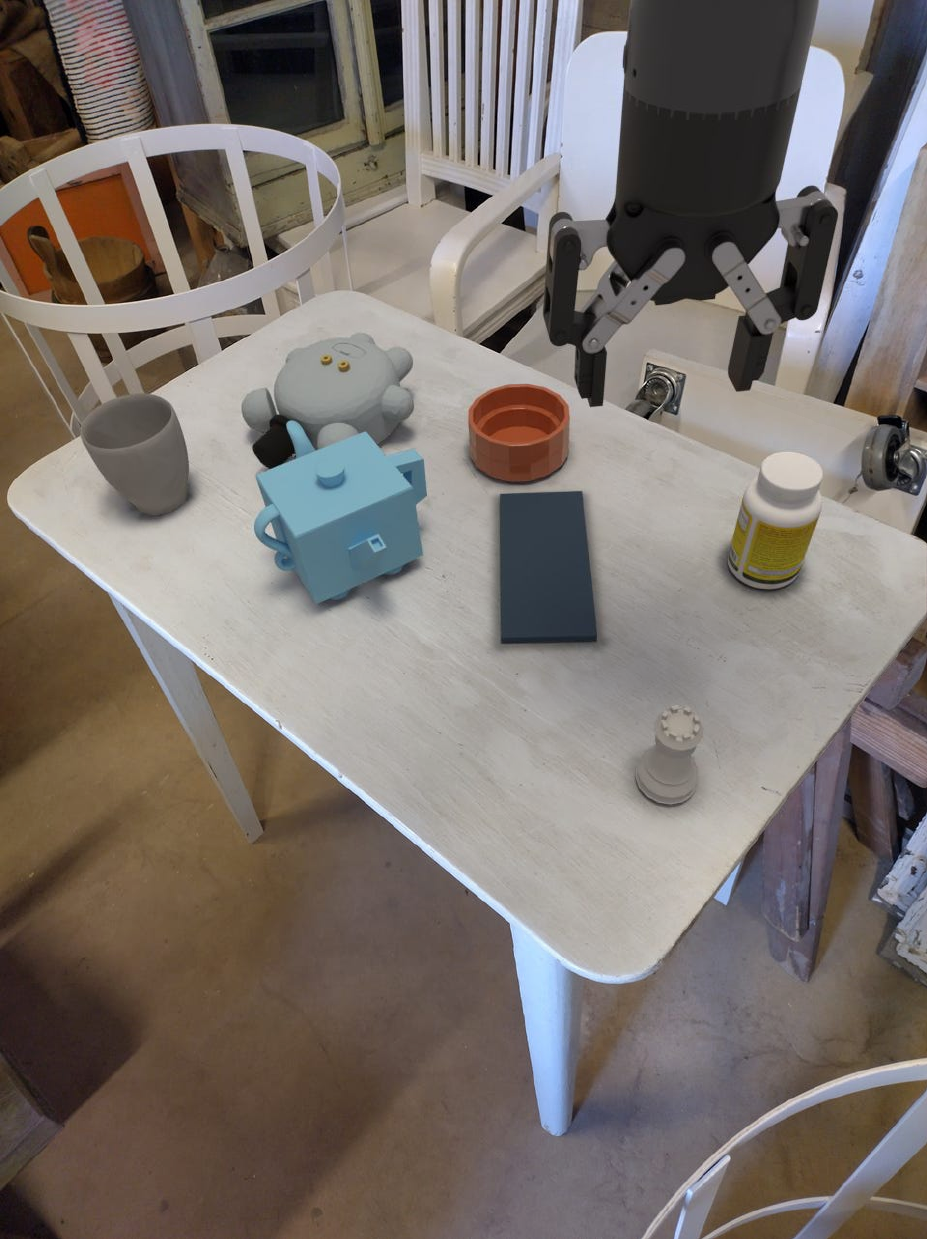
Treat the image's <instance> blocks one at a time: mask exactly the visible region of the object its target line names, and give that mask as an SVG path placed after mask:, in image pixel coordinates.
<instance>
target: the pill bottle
mask: <svg viewBox="0 0 927 1239" xmlns="http://www.w3.org/2000/svg"><path fill="white" fill-rule="evenodd" d="M823 476H824V472H823V469H822V467H821V465H820V464H819V463H818V461H816V460H815V459H814V458H812V457H810V456H808V455H806V454H803V453H800V452H795V451H779V452H775V453H772V454H770V455H768V456H766V457H765V458H764V460H762V463H761V465H760V468H759V472H758V476H756V477H754V478H753V479H752V480H751V481H750V482H748V484H747V486H746V487H745V490H744V491H743V495H742V499H741V502H740V507H739V511H738V515H737V519H736V522H735V527H734V530H733V534H732V538H731V542H730V546H729V550H728V554H727V562H728V563H727V564H728V568H729V570H730V571H731V573H732V574H733V575H734V577H736V579H737V580H739V581H741V583H743V584H745V585H747V586H750V587H752V588H755V589H761V590H775V589H780V588H783V587H786V586H788V585H790V584H791V583H793V581H795V579H796V578H797V577H798V575H799V574H800V571H801V569H802V566H803V563H804V561H805V558H806V554H807V552H808V550H809V547H810V543H811V541H812V538H813V536H814V532H815V530H816V527H817V524H818V521H819V518H820V516H821V513H822V508H823V497H822V493H821V491H820V487H821V484H822V480H823Z"/></svg>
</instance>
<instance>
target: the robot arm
mask: <svg viewBox="0 0 927 1239" xmlns="http://www.w3.org/2000/svg"><path fill="white" fill-rule="evenodd" d="M819 3H820V0H630V4H629V12H628V19H627V20H628V21H627V31H626V32H627V34H626V40H625V43H624V45H623V53H622V70H623V86H622V87H623V88H622V99H621V100H622V101H621V111H620V113H621V114H620V127H619V139H618V154H617V155H618V156H617V166H616V167H617V169H616V181H615V182H616V183H615V195H614V201H613V204H612V206H611V209H610V211H608V214H607V215H606V217H605V218H604V219H594V220H593V219H591V220H574V219H573V217H572V215H571V214H570V213H569V212H566V211H559V212H557V213H555V214H553V215H552V217H551V218H550V220H549V224H548V233H547V234H548V235H547V236H548V237H547V250H546V264H545V275H544V277H545V278H544V290H543V302H542V303H543V305H542V317H543V321H544V325H545V327H546V332H547V335H548V338H549V342H550V343H551V344H552V345H553V346H555V347H564V346H566V345H567V344H568V345H572V346H573V347H575V351H574V371H573V372H574V374H573V377H574V382H575V385H576V388H577V392H578V394H579V396H580V399H581V400H584V399H587V403H588V406H589V408H597V407H603V406H604V399H605V398H604V397H605V385H606V384H605V383H606V373H607V372H606V370H607V358H608V351H607V349H606V345H607V344H608V343H609V341H610V340H611V339H612V338H613V336H614V335H616V333H617V332H618V331H619V329H620V328H621V327H622V326H623V325H629V324H630V323H632V321H634V319H635V318H636V317H637V315H638V314H639V313H640V312H641V311H642V310H643V308H644V307H645V306H646V305H647V304H648V303H649V301H651V302H653V303H654V305H655V306H663V305H665V306H666V305H672V304H675V303H676V302H677V303H678V302H679V301H680V302H681V301H684V300H694V301H699V302H701V301H711V300H715V299H716V295H718V294H720V293H722V292H724V291H725V290H727V289H728V288H730V290H731V291H732V292H733V294H734V296H735V297H736V299H737V300H738V302H739V303H740V305H741V306H742V308H743V309H744V311H745V314H744V315H738V318H737V323H736V326H735V327H736V328H735V333H734V337H733V342H732V347H731V350H730V351H731V352H730V357H729V362H728V366H727V376H728V379H729V381H730V382H731V385H732V386H733V388H734V391H735V392H737V393H738V392H739V393H741V392H748V391H750V390H751V389H752V386H753V382H755V381H759V380H760V378H762V375H763V374H764V372H765V368H766V364H767V360H768V356H769V352H770V348H771V344H772V341H773V336H774V334H775V332H776V331H777V330H778V329H779V328H780V327H781V325H783V324H784V323H787V322H789V321H791V320H794V319H796V320H798V321H807V320H809V319H811V318H812V317H814V316H815V314H816V313H817V311H818V307H819V305H820V304H819V303H820V299H821V294H822V290H823V286H824V282H825V277H826V273H827V267H828V264H829V259H830V255H831V250H832V245H833V241H834V237H835V232H836V228H837V225H838V224H837V223H838V219H839V211H838V209H837V208H836V207H835V206H834V204H833V203H832V201H831V200H830V199H829V198H828V197H827V195H826V194H825V193H823V192H822V191H821V190H820V189H819V187H818V186H816V185H813V184H811V185H808V186H805V187H803V188H802V189H801V190H799V192H798V193H797V195H796V197H791V198H786V199H781V200H776V198H777V197H776V196H777V190H778V187H779V186H780V183H781V180H782V177H783V171H784V166H785V162H786V159H787V158H786V157H787V153H788V148H789V143H790V139H791V134H792V131H793V126H794V121H795V116H796V112H797V108H798V104H799V99H800V95H801V94H800V93H801V90H802V86H803V80H804V76H805V71H806V66H807V62H808V58H809V52H810V49H811V48H810V47H811V44H812V41H813V40H812V39H813V36H814V30H815V25H816V20H817V15H818V10H819ZM778 229H780V232H781V235H782V237H783V238H784V239H785V241H786V242H787V246H786V251H785V257H784V262H783V268H782V274H781V279H780V285H779V287H777V288H775V289H772V290H770V291H768V292H765V290H764V288H763V286H762V285H761V284H760V282H759V280H758V279H757V277H756V276H755V274H754V272H753V271H752V270H751V268H750V266H749V264H751V262H752V261H753V260H754V259H755V258H756V257H757V256H758V254H759V253H760V252H761V251H762V250H763V249H764V248H765V247H766V245H767V244H768V243H769V242H770V241H771V240H772V238H773V237H774V236H775V234H776V233H777V231H778ZM606 247H607V250H608V252H609V254H610V255H611V256H612V258H613V259H614V261H613V262H612V263H611V264H610V265H609V267H608V268H607V269H606V271H605V272H604V273H603V274H602V276H601V277H600V279H599V280H598V283H597V288H596V290H595V292H594V293H593V294H592V295H591V297H590V298H589V299H588V300H587V302H586V303H585V304H584V305H583V307H582V308H581V309H580V311H578V310H576V301H577V290H578V282H579V272H580V271H585V270H587V269H588V267H589V266H590V265H591V264H592V261H593V258H594V256H595V254H596V253H597V251H598V250H601V249H603V248H606Z"/></svg>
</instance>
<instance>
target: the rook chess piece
mask: <svg viewBox="0 0 927 1239" xmlns="http://www.w3.org/2000/svg"><path fill="white" fill-rule="evenodd" d="M653 725H654V726H653V731H654V743H655V744H653V745H652V746H650V747H649V748H647V749H646V750H644V752H643V753H642V755H641V756H640V758H639V760H638V764H637V765H636V767H635V768H636V769H635V780H636V782H637V785H638V788H639V789H640V790H641V791H642V793H644V795H645V796H646V797H647V798H649V799H650V800H653V801H654V802H656V803H659V804H664V805H676V804H680V803H684V802H686V801H687V800H688V799H689V798H690V797H692V796H693V795H694V794H695V791H696V790H697V787H698V781H699V767H698V765H697V762H696V760H695V757H693V755H692V754H694V753H695V751H696V749H697V747H698V745H700V744H701V743H702V742H701V741H702V740H703V739H704V734H705V733H704V730H705V728H704V725H703V722H702V721H701V720H700V717H699V714H694V713H693V709H692V708H690V707H689V706H684V708H683V709H682V708H679V705H678V704H677V705H672V706H670V708H669V709H665V710H664V711H662V712H661V713H659V714H658V715H657V717H656V719H655V720H654V724H653Z"/></svg>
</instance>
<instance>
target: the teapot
mask: <svg viewBox="0 0 927 1239" xmlns="http://www.w3.org/2000/svg"><path fill="white" fill-rule="evenodd" d="M286 426H287V430H288V433H289V435H290V437H291V439H292V442H293V445H294V449H295V453H296V454H295V457H296V458H295V459H292V460H289V461H287V462H284V463H283V464H282V465H279V466H277V467H275V468H272V469H267V470H265V471H262V472H260V473H258V474H256V475H255V480H256V483H257V486H258V488H259V491H260V494H261V497H262V500H263V503H264V506H265V507H264V508H263V509H262V510H260V512H259V513H258V514H257V516H256V518H255V519H254V523H253V531H254V535H255V536H256V538H257V539H258V541H259V542H260V543H261V544H262V545H264V546H265V547H267V548H268V549H270V550H273V551H275V554H274V559H273V560H274V564H275V566H276V567H277V568H279V570H281V571H291V570H294V571H295V573H296V574H297V576H298V578H299V579H300V581H301V583H302V584H303V586H304V587H305V589H306V590H307V592H308V594H309V596H310V597H311V599H312V600H313V602H314V603H315V605H318V604H320V603H322V602H325V601H327V600H329V599H330V600H341V599H343V598H346V597H347V595H349V593H350V591H351V589H353V588H355V587H357V586H360V585H362V584H364V583H366V582H368V581H371V580H373V579H376V578H377V577H380V576H383V575H390V576H391V575H396V574H398V573H400V572H401V571H402V570H403V569H404V565H406V564H408V563H411V562H412V561H415V560H417V559H419V558H421V557H423V556H424V550H423V542H422V538H421V530H420V524H419V523H420V522H419V517H418V510H417V505H418V504H419V503H420V502H422V500H424V499H425V498H426V497H427V496H428V491H427V480H426V470H425V468H426V467H425V458H423V456H422V455H421V454H420V453H419V452H418V450H416V448H412V449H408V450H404V451H399V452H395V453H391V454H387V455H386V453H385V452H384V451H383V450H382V449H381V447H379V444H376V443H375V442H374V441H373V439H372V438H371V437H370V436H369V435H368V433H367V432H363V433H360V434H357V435H355V436H352V437H350V438H347V439H345V440H342V441H340V442H337V443H334V444H332V445H329V446H327V447H324V448H322V449H319V450H317V451H315V449H314V447H313V446H312V444H311V442H310V441H309V439H308V437H307V435H306V434H305V432H304V430H303V428H302V427H301V426H300V425H299V424H298V423H297V422H295V421H288V422H287V425H286ZM269 525H271V527H272V530H273V533H274V535H275V537H274V536H273V537H272V536H271V535H269V534H268V533H267V532H266V529H267V527H268V526H269Z"/></svg>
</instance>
